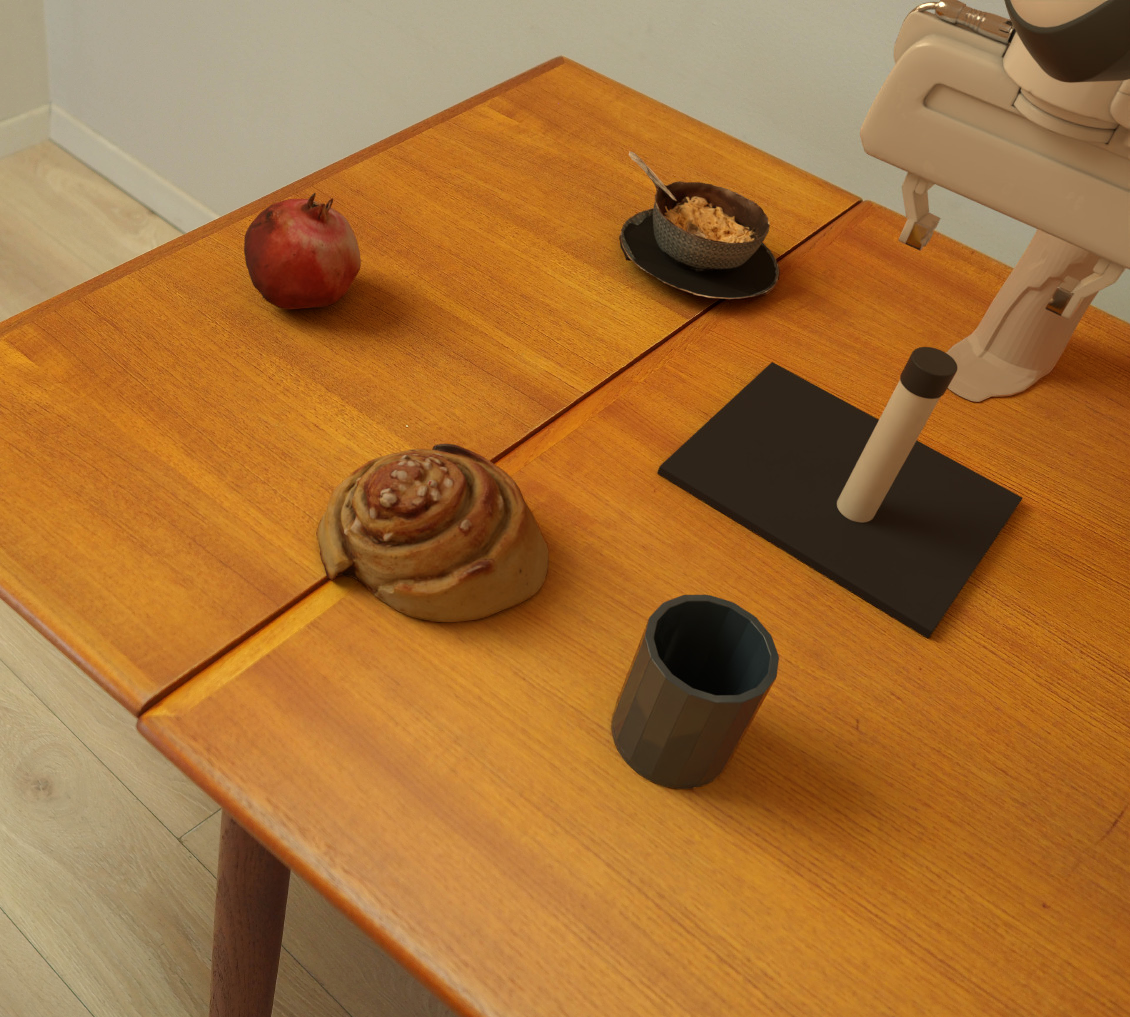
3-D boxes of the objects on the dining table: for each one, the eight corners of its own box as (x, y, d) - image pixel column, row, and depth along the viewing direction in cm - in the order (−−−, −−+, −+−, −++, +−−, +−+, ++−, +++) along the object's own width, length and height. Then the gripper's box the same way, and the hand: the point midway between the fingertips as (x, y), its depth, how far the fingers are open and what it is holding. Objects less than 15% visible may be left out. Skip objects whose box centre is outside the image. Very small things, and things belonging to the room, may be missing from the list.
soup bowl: (682, 328, 99) (706, 255, 94) (578, 229, 108) (595, 157, 103) (809, 290, 106) (837, 220, 100) (700, 200, 114) (722, 131, 109)
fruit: (220, 292, 95) (217, 184, 88) (303, 250, 101) (306, 146, 93) (298, 345, 92) (301, 237, 84) (380, 298, 97) (389, 194, 90)
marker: (882, 509, 85) (964, 361, 75) (865, 530, 83) (947, 382, 73) (845, 488, 86) (922, 340, 76) (828, 508, 84) (904, 360, 74)
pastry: (293, 507, 79) (295, 421, 74) (488, 462, 85) (504, 378, 79) (363, 655, 71) (372, 571, 66) (573, 594, 77) (598, 512, 71)
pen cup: (752, 733, 71) (801, 645, 64) (691, 813, 66) (737, 727, 60) (652, 664, 74) (689, 573, 67) (587, 736, 69) (620, 647, 63)
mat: (1018, 504, 88) (1023, 497, 88) (928, 639, 78) (933, 631, 77) (769, 368, 97) (772, 361, 96) (656, 473, 86) (659, 465, 86)
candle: (916, 370, 99) (1026, 159, 85) (997, 318, 106) (1112, 115, 92) (989, 417, 96) (1117, 206, 81) (1067, 360, 103) (1198, 156, 88)
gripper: (894, 0, 62) (809, 222, 72) (1291, 150, 54) (1134, 377, 64) (939, -27, 66) (852, 188, 76) (1316, 110, 58) (1164, 330, 68)
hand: (984, 276), depth 70 cm, fingers open, 8 cm apart
